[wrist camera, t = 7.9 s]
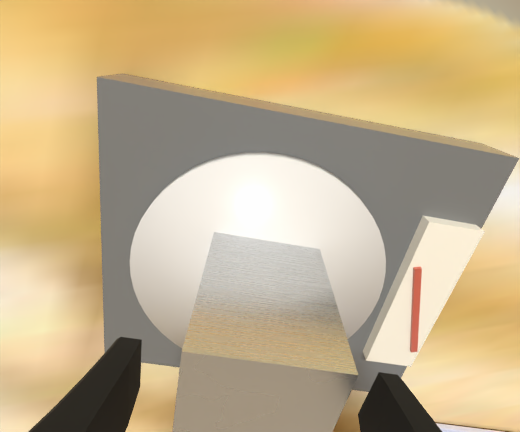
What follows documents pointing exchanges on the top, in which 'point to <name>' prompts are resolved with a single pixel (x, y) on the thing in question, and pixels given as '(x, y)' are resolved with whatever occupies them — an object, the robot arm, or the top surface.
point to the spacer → (263, 343)
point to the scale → (283, 211)
